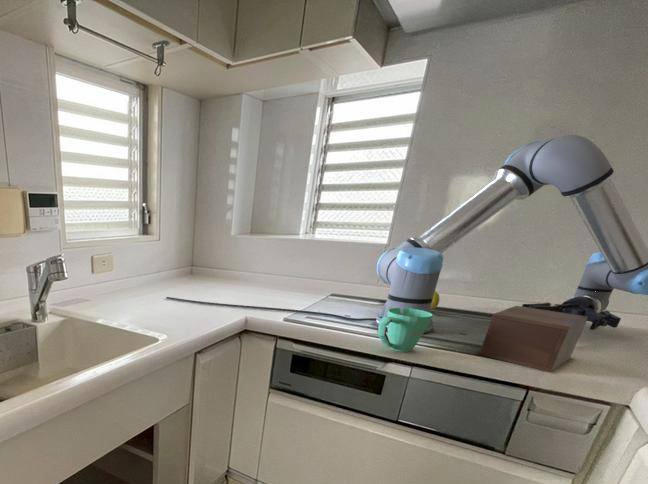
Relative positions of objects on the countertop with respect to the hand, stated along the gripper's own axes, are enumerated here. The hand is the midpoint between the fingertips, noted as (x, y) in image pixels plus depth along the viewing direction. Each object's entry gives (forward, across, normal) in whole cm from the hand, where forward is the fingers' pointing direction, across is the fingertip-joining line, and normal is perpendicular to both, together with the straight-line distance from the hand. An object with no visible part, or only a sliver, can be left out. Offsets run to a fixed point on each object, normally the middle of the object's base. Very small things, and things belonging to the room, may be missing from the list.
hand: (558, 318), depth 109 cm
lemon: (-11, +36, -7) cm, 38 cm away
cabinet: (+20, 0, -7) cm, 21 cm away
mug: (+42, +21, -7) cm, 47 cm away
